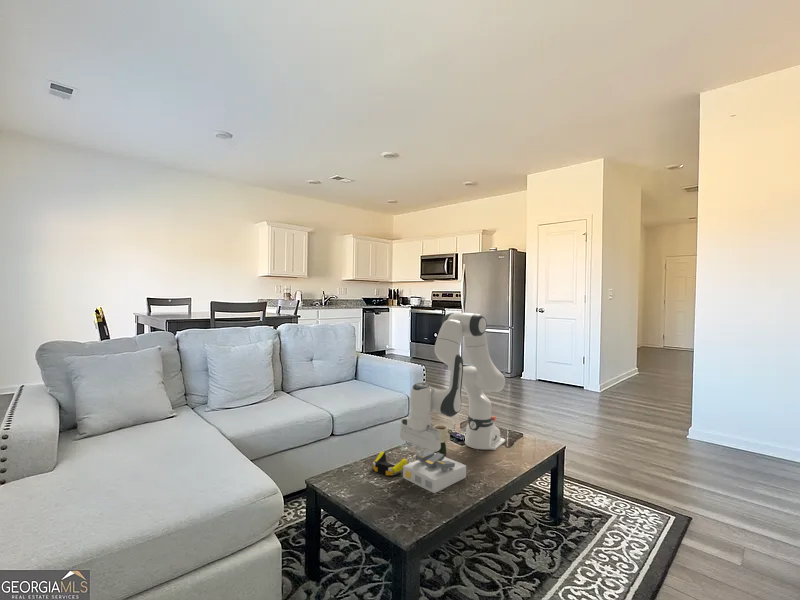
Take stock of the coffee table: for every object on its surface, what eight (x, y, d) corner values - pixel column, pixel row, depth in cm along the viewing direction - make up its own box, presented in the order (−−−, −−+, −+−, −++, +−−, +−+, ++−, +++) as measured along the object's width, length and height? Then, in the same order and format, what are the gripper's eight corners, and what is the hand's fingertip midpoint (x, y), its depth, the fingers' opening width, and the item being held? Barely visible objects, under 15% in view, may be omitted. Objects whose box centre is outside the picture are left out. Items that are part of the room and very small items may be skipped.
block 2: (447, 464, 164) (448, 460, 164) (454, 467, 161) (455, 463, 162) (435, 465, 158) (436, 461, 159) (442, 468, 156) (442, 463, 156)
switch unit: (434, 464, 177) (435, 450, 177) (465, 477, 165) (466, 462, 165) (402, 478, 163) (402, 462, 163) (433, 493, 151) (434, 477, 151)
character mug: (453, 455, 187) (454, 428, 187) (444, 460, 182) (445, 431, 182) (435, 449, 194) (436, 422, 194) (426, 453, 189) (426, 426, 189)
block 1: (428, 454, 172) (428, 450, 172) (434, 456, 169) (434, 452, 169) (415, 459, 166) (415, 455, 166) (421, 461, 164) (421, 457, 164)
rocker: (438, 455, 168) (437, 452, 168) (444, 458, 166) (444, 454, 165) (425, 465, 163) (425, 461, 162) (432, 468, 160) (431, 464, 160)
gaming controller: (381, 462, 178) (367, 469, 170) (382, 449, 178) (367, 457, 170) (409, 471, 170) (395, 480, 161) (409, 458, 170) (395, 466, 161)
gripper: (444, 427, 160) (443, 461, 160) (408, 415, 175) (407, 446, 175) (434, 431, 156) (433, 466, 156) (398, 418, 170) (397, 450, 170)
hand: (419, 455), depth 165 cm, fingers closed
